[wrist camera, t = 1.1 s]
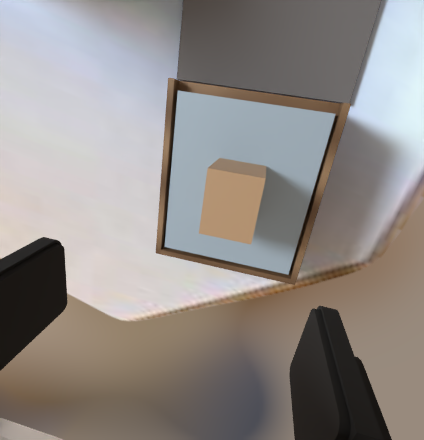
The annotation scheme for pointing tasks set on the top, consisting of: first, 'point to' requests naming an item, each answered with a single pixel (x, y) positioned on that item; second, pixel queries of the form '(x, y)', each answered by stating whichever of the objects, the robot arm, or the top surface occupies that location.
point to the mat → (277, 45)
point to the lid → (242, 178)
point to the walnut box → (325, 167)
